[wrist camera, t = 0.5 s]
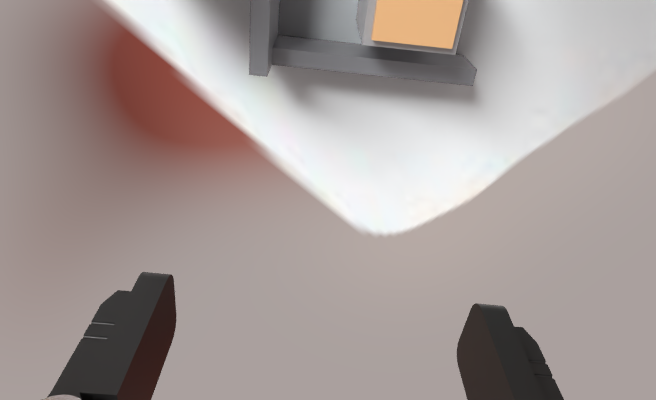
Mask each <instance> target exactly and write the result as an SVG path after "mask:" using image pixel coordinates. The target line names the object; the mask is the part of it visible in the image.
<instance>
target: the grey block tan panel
mask: <svg viewBox="0 0 656 400" xmlns="http://www.w3.org/2000/svg"><path fill="white" fill-rule="evenodd" d="M468 1H469V0H358V8H357V15H356V22H357V26H358V30H359V34H360V38H361V42H362V45H367V46H377V47H386V48H395V49H404V50H414V51H423V52H432V53H441V54H451V55H456V51H457V47H458V43H459V38H460V34H461V30H462V26H463V22H464V17H465V13H466V9H467V5H468Z"/></svg>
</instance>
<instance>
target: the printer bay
mask: <svg viewBox="0 0 656 400" xmlns="http://www.w3.org/2000/svg"><path fill="white" fill-rule="evenodd" d="M279 4H280V0H251V13H250V64H249V75H257V76H267V75H268V73H269V70H270V68H271V65H281V66H290V67H300V68H309V69H319V70H328V71H337V72H347V73H356V74H366V75H375V76H385V77H394V78H404V79H413V80H423V81H432V82H441V83H451V84H460V85H470V86H473V83H474V79H475V75H476V71H477V69H476V68H475V67H474V66H473V65H472V64H471V63H470V62H469V61H468V60H467V59H466V58H465V57H464V56H463V55H451V54H441V53H432V52H423V51H414V50H404V49H395V48H386V47H377V46H367V45H362V44H355V43H346V42H336V41H327V40H318V39H309V38H300V37H291V36H281V35H278V25H279Z"/></svg>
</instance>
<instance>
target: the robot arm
mask: <svg viewBox="0 0 656 400" xmlns="http://www.w3.org/2000/svg"><path fill="white" fill-rule="evenodd" d="M175 327H176V306H175V292H174V279H173V276H172V275H169V274H159V273H148V272H142V273H141V274H140V276H139V278H138V279H137V281H136V283H135V285H134V287H133V289H132V291H131V292H129V291H120V290H118V291H117V292H115V293H114V294H113V295H112V296H111V297H109V298H108V299H107V300H106V301H105V302H103V303H102V304H101V305H100V307H99V309H98V311H97V313H96V314H95V316H94V318H93V320H92V323H91V325H89V327H88V329H87V330H86V332H85V334H84V337H83V339H81V341H80V342H79V344H78V346H77V348H76V350H75V351H74V353H73V355H72V356H71V358H70V360H69V362H68V363H67V365H66V367H65V369H64V370H63V372H62V374H61V376H60V377H59V379H58V381H57V383H56V385H55V386H54V388H53V390H52V391H51V393H50V394H49V396H48V397H47V398H45V399H42V400H151V398H152V395H153V393H154V390H155V387H156V384H157V381H158V379H159V376H160V373H161V370H162V367H163V365H164V362H165V359H166V357H167V354H168V351H169V348H170V346H171V343H172V340H173V337H174V332H175ZM457 362H458V367H459V370H460V374H461V378H462V381H463V385H464V388H465V392H466V396H467V399H468V400H564V399H563V397H562V395H561V393H560V391H559V388H558V386H557V384H556V382H555V380H554V379H552V374H551V371H550V369H549V367H548V365H547V364H545V359H544V357H543V354H542V352H541V350H540V348H539V346H538V344H537V342H536V341H535V340H534V339H533V338H532V337H531V336H530V335H529V334H528V333H527V332H526V331H525V330H524V328H522V327H514V326H513V323H512V321H511V319H510V317H509V314H508V312H507V310H506V308H505V307H503V306H496V305H486V304H474V305H473V306H472V308H471V310H470V313H469V316H468V318H467V321H466V323H465V326H464V329H463V331H462V334H461V336H460V339H459V342H458V347H457Z"/></svg>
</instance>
